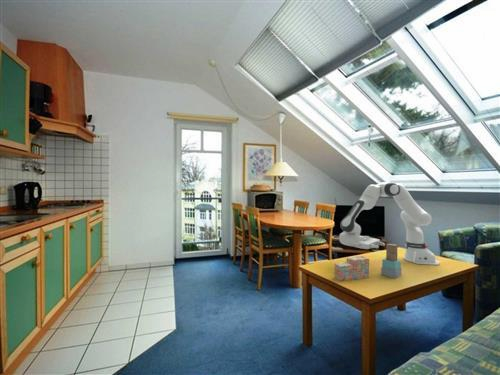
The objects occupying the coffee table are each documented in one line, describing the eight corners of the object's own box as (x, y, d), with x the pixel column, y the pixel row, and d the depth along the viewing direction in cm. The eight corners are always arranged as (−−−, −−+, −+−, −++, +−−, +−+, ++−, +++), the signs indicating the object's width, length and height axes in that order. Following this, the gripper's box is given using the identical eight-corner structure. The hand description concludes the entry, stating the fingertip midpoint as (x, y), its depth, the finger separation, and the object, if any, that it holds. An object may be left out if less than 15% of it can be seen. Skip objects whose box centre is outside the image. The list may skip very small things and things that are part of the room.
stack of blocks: (340, 281, 154) (340, 261, 153) (334, 277, 160) (334, 258, 159) (369, 277, 160) (369, 258, 160) (361, 274, 166) (362, 255, 166)
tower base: (386, 271, 171) (386, 264, 171) (401, 275, 164) (401, 267, 164) (381, 274, 165) (381, 267, 165) (396, 278, 158) (396, 271, 158)
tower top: (388, 264, 171) (388, 257, 170) (400, 267, 164) (400, 260, 164) (382, 266, 166) (382, 259, 166) (395, 270, 159) (395, 262, 159)
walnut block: (389, 258, 168) (389, 243, 168) (397, 260, 164) (397, 244, 164) (386, 259, 165) (386, 244, 165) (394, 261, 161) (394, 246, 161)
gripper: (354, 239, 173) (374, 243, 162) (367, 235, 186) (387, 238, 175) (354, 248, 173) (374, 253, 162) (367, 244, 186) (387, 247, 176)
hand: (381, 245), depth 169 cm, fingers open, 8 cm apart
